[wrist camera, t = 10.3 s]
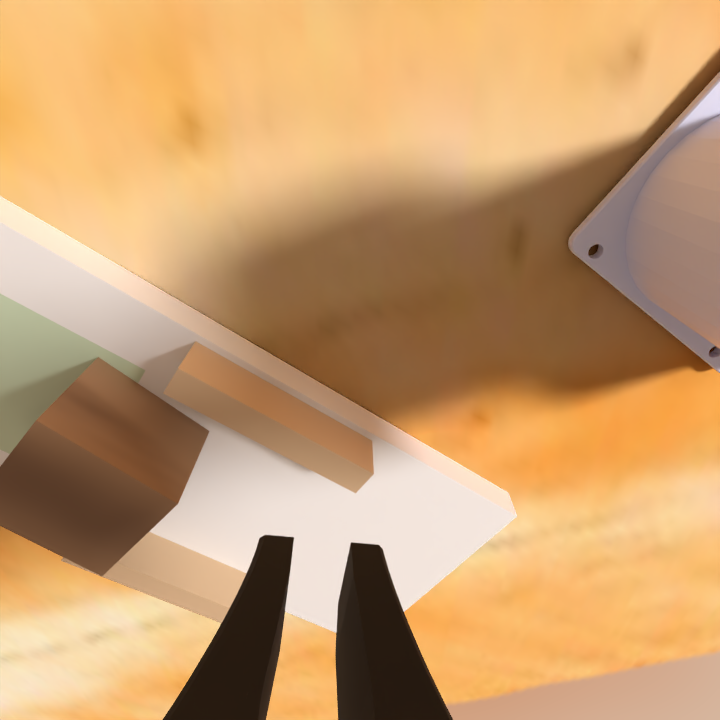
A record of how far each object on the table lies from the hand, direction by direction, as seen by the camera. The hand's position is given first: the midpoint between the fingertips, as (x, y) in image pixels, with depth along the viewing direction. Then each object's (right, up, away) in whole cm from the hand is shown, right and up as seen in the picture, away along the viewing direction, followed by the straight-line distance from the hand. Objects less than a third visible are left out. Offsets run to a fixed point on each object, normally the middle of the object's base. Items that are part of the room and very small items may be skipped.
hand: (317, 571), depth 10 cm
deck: (-8, +2, +11) cm, 14 cm away
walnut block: (-9, +2, +9) cm, 13 cm away
